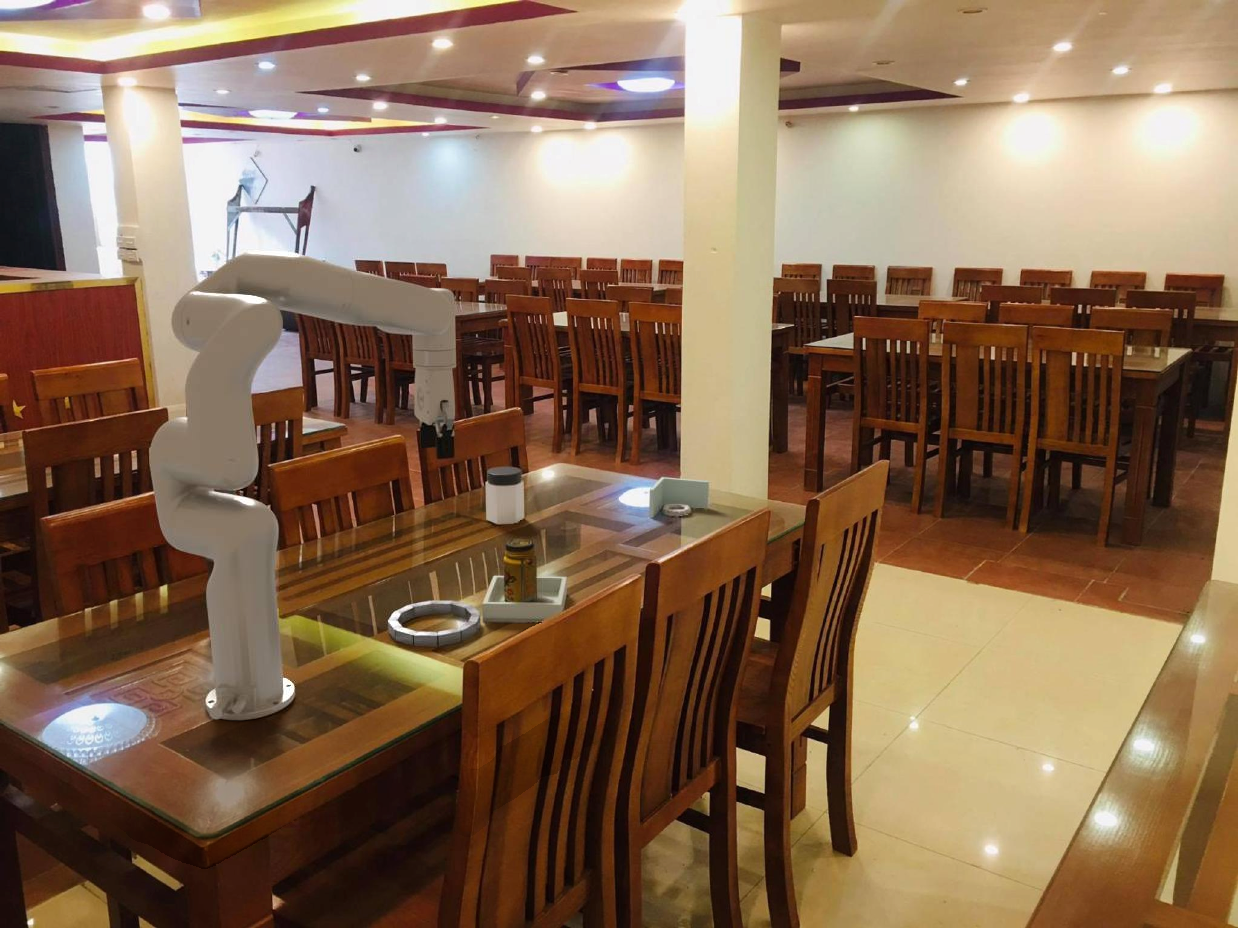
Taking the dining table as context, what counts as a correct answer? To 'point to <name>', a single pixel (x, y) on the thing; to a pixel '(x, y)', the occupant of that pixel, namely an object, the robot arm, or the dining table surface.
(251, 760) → the dining table surface
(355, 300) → the robot arm
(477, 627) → the collar
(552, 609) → the bin
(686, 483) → the right angle wall
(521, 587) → the condiment
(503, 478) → the jar
